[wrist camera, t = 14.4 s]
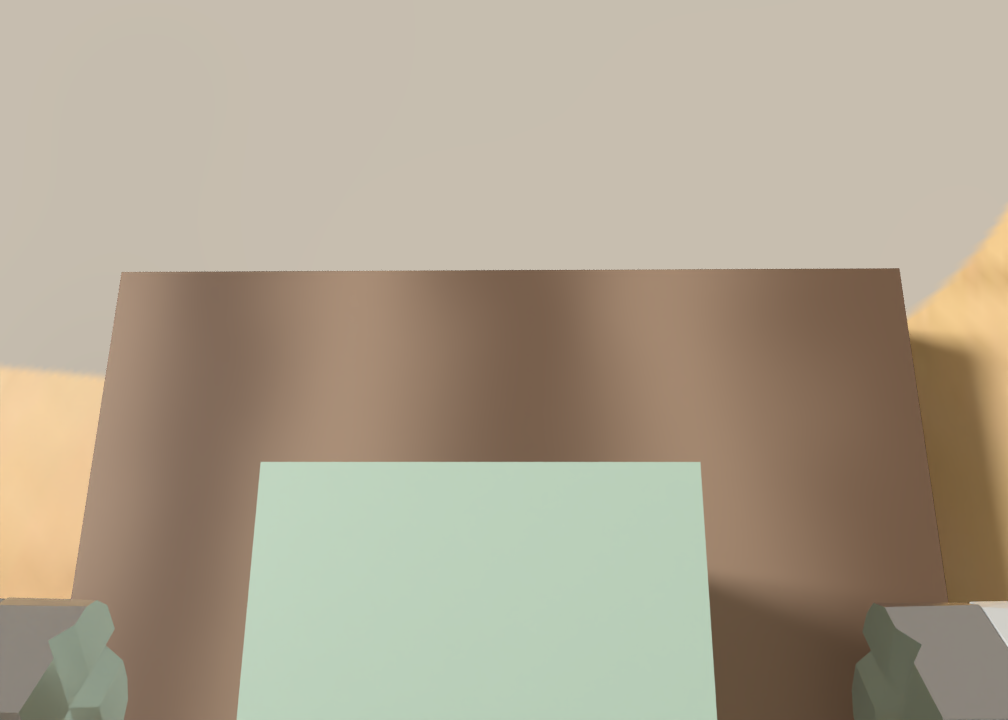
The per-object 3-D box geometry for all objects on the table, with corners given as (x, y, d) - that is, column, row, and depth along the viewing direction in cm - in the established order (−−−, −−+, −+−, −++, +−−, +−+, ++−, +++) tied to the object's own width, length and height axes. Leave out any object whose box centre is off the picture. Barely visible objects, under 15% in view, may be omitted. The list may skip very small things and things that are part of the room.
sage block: (366, 825, 15) (213, 970, 8) (379, 555, 17) (259, 462, 9) (632, 827, 15) (734, 977, 8) (622, 556, 17) (699, 462, 9)
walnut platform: (66, 1143, 17) (-28, 1240, 14) (174, 324, 22) (122, 271, 19) (954, 1160, 16) (1045, 1264, 13) (849, 321, 21) (899, 268, 19)
